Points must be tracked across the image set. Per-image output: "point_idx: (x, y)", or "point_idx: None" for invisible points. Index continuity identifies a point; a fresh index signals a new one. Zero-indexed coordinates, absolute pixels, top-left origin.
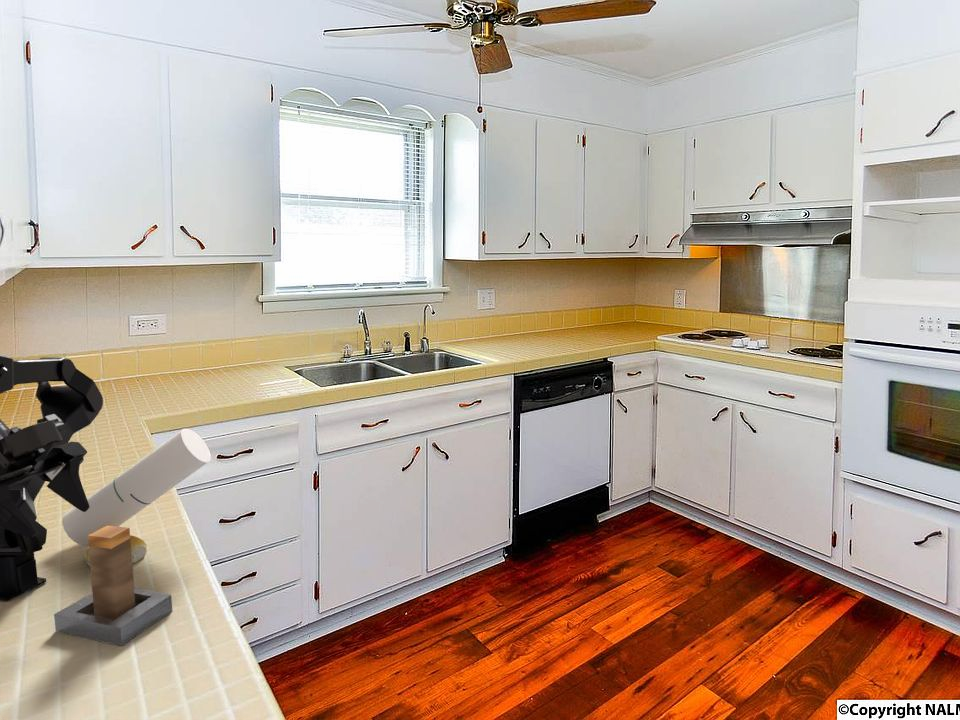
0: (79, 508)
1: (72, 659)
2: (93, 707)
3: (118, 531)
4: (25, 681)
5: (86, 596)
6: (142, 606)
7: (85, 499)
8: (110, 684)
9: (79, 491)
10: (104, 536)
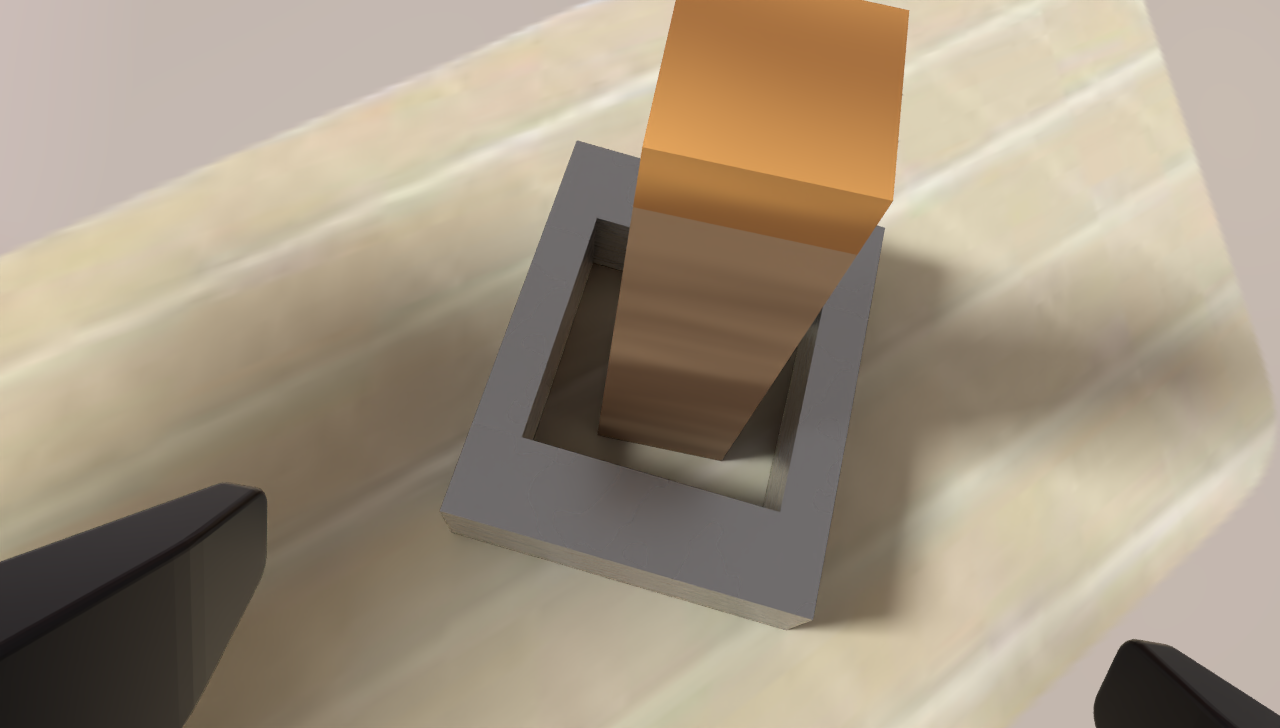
0: (230, 629)
1: (973, 412)
2: (1190, 195)
3: (771, 7)
4: (1141, 509)
5: (604, 555)
6: None
7: (147, 526)
8: (1077, 200)
9: (53, 600)
10: (890, 61)
